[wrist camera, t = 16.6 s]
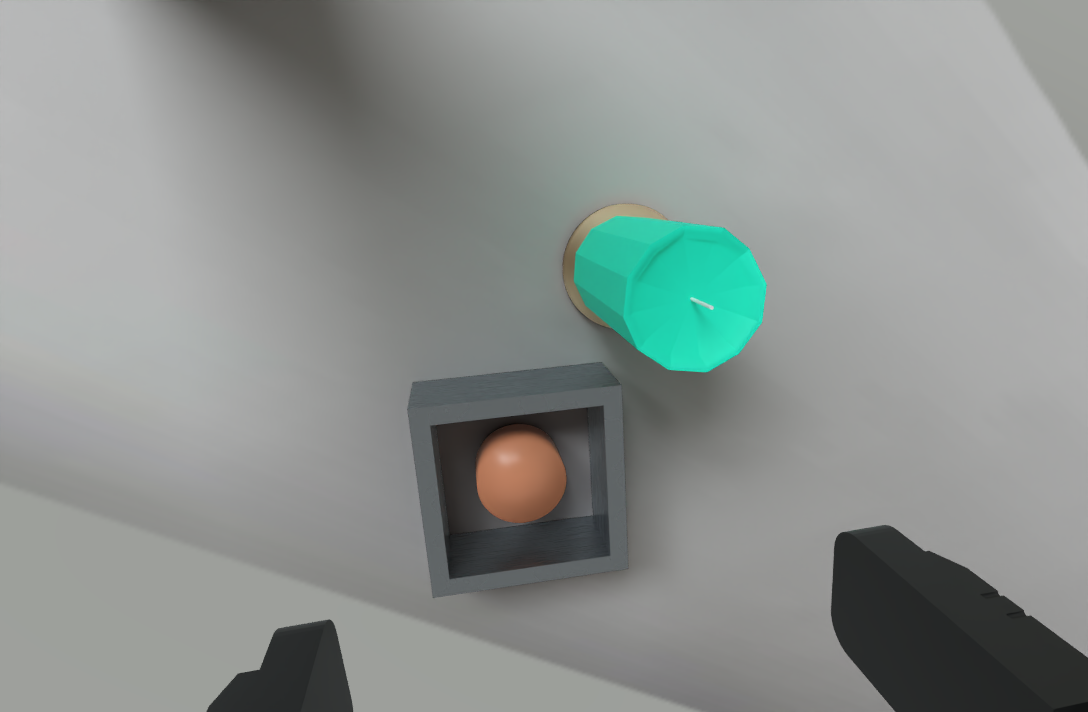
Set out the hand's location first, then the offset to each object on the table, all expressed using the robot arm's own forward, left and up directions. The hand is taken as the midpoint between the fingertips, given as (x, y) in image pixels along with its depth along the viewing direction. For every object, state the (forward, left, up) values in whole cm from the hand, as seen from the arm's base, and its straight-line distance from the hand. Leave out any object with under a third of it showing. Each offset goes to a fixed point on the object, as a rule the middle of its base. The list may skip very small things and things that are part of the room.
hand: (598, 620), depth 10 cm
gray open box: (+9, +1, -26) cm, 28 cm away
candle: (-2, +8, -26) cm, 27 cm away
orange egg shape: (+9, +1, -26) cm, 27 cm away
